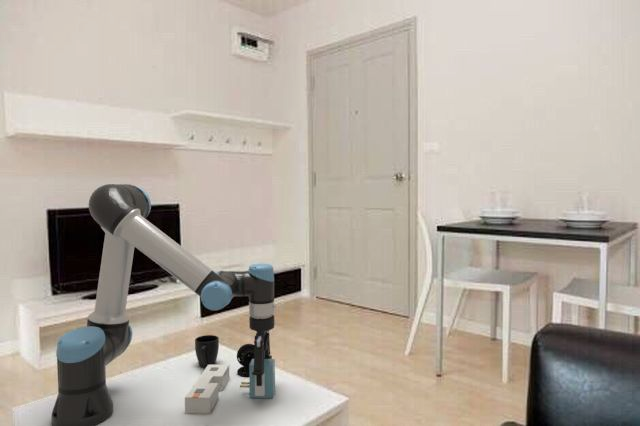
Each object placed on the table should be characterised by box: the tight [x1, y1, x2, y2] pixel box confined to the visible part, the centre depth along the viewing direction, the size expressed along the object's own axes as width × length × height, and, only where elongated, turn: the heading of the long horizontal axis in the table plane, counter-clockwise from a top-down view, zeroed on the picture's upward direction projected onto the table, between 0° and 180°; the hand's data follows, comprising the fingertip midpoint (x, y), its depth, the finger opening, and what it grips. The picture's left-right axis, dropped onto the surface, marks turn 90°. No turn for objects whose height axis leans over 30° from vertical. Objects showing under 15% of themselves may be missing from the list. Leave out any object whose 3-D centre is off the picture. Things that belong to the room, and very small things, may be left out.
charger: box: [239, 358, 276, 399], centre depth 138 cm, size 10×5×10 cm, turn 88°
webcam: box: [236, 343, 254, 378], centre depth 154 cm, size 8×8×10 cm
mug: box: [194, 334, 220, 369], centre depth 160 cm, size 8×12×10 cm
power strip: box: [184, 364, 230, 414], centre depth 142 cm, size 7×32×5 cm, turn 178°
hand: (262, 387), depth 138 cm, fingers open, 10 cm apart
